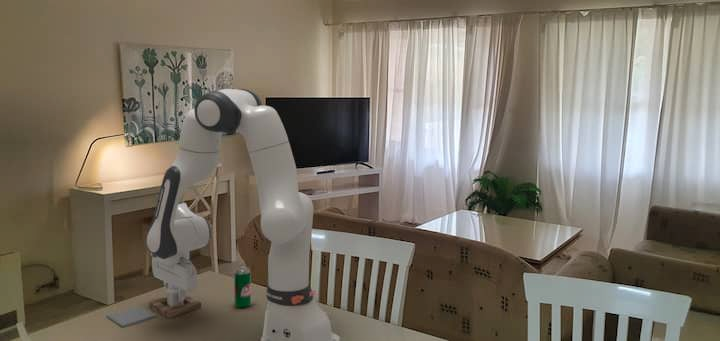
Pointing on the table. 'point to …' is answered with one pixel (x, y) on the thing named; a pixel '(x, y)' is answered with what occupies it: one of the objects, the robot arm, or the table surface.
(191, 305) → the frame
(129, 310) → the grey mat
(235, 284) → the soda can
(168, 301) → the pill bottle
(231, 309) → the table surface
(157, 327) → the table surface
